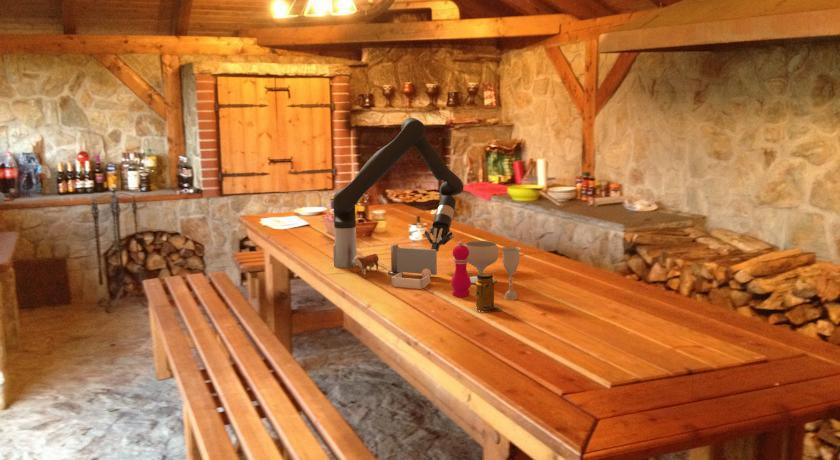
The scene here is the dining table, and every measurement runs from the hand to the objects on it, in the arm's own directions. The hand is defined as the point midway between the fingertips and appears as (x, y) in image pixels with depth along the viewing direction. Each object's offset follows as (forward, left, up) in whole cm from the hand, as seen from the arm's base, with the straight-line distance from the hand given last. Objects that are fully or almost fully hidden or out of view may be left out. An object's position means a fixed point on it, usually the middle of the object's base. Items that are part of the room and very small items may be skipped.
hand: (434, 251), depth 296 cm
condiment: (+36, -46, -9) cm, 59 cm away
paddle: (-6, -9, -7) cm, 13 cm away
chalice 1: (+23, -10, -9) cm, 26 cm away
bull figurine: (-26, -11, -9) cm, 30 cm away
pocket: (-1, -23, -8) cm, 25 cm away
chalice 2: (+40, -30, -9) cm, 51 cm away
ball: (+1, -12, -8) cm, 15 cm away
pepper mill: (+22, -32, -9) cm, 40 cm away
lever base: (-14, -9, -8) cm, 19 cm away
